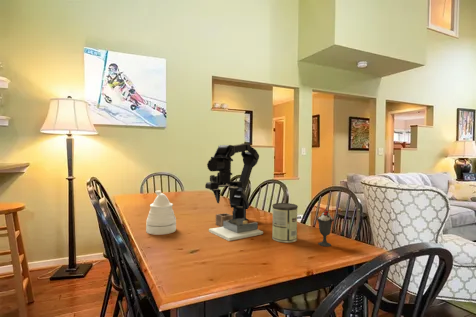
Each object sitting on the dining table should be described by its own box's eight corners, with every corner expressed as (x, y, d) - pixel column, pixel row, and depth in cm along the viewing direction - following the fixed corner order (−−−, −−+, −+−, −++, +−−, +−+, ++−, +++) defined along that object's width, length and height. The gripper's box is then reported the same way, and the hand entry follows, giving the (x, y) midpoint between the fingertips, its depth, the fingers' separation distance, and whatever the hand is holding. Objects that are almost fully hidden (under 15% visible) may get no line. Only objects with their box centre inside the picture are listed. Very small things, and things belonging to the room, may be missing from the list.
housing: (242, 224, 133) (243, 217, 133) (257, 229, 124) (257, 222, 124) (223, 227, 127) (223, 220, 126) (237, 233, 118) (237, 226, 118)
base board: (241, 226, 134) (241, 217, 134) (262, 234, 122) (263, 224, 121) (208, 231, 124) (208, 222, 124) (228, 241, 111) (229, 230, 111)
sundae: (324, 248, 104) (325, 208, 104) (312, 243, 110) (313, 205, 110) (337, 246, 107) (338, 207, 107) (324, 241, 113) (325, 204, 113)
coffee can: (276, 234, 122) (276, 202, 122) (299, 237, 118) (300, 204, 117) (268, 240, 113) (269, 205, 112) (293, 244, 108) (294, 208, 108)
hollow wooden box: (225, 222, 140) (225, 213, 140) (232, 225, 135) (232, 215, 135) (215, 224, 136) (215, 214, 136) (222, 227, 132) (222, 216, 132)
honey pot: (160, 236, 116) (160, 193, 115) (139, 231, 122) (140, 190, 122) (181, 229, 127) (182, 190, 126) (162, 225, 133) (162, 188, 133)
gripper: (231, 169, 147) (230, 198, 148) (200, 170, 136) (199, 201, 137) (244, 170, 138) (243, 201, 139) (211, 171, 127) (211, 205, 128)
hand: (224, 202), depth 136 cm, fingers open, 7 cm apart
